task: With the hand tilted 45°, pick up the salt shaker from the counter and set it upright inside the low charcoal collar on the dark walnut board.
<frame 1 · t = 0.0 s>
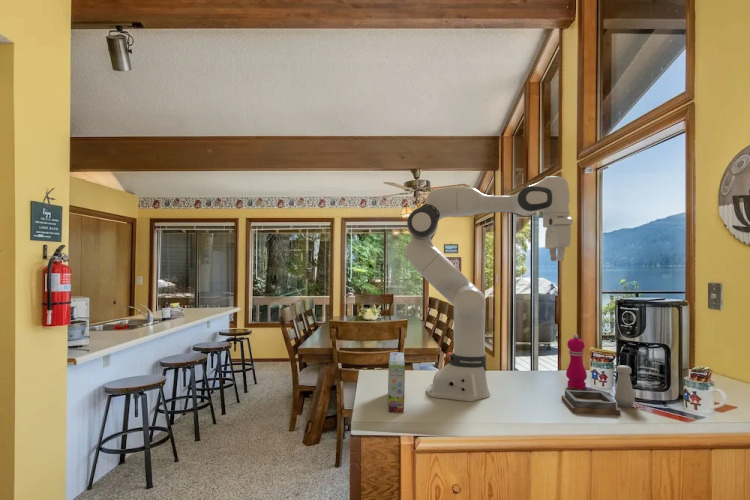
hand: (556, 260, 151), 48 cm above the countertop, tool pointing down, fingers open, 8 cm apart
salt shaker: (624, 406, 141), on the countertop
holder: (589, 407, 139), on the countertop
pepper mill: (576, 387, 163), on the countertop
snack box: (396, 403, 144), on the countertop
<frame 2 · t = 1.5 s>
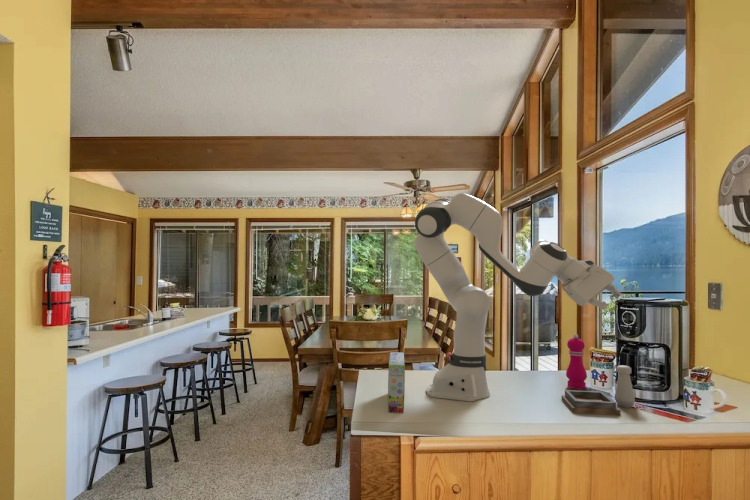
hand: (613, 301, 135), 35 cm above the countertop, tool tilted 55°, fingers open, 8 cm apart
nothing on the countertop moved.
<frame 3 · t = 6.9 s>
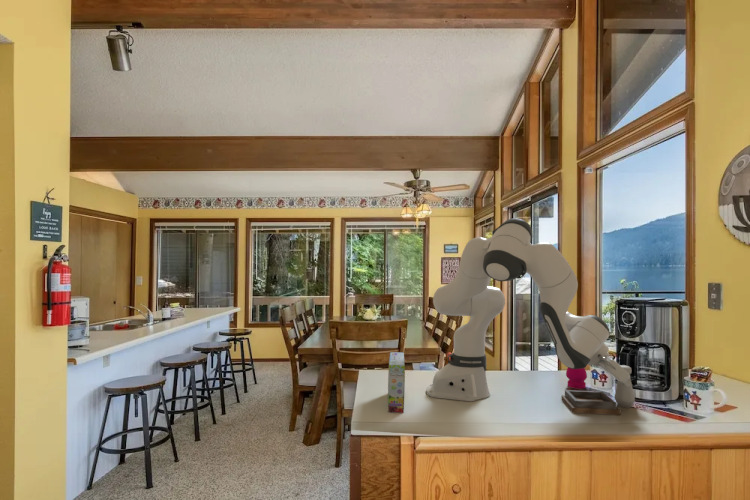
hand: (626, 383, 141), 7 cm above the countertop, tool tilted 45°, fingers closed on salt shaker, 3 cm apart
salt shaker: (624, 406, 141), on the countertop, touching gripper
everything else where it was.
when the fingers open (10 cm above the countertop, at t = 12.1 s): salt shaker stays where it is, resting on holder.
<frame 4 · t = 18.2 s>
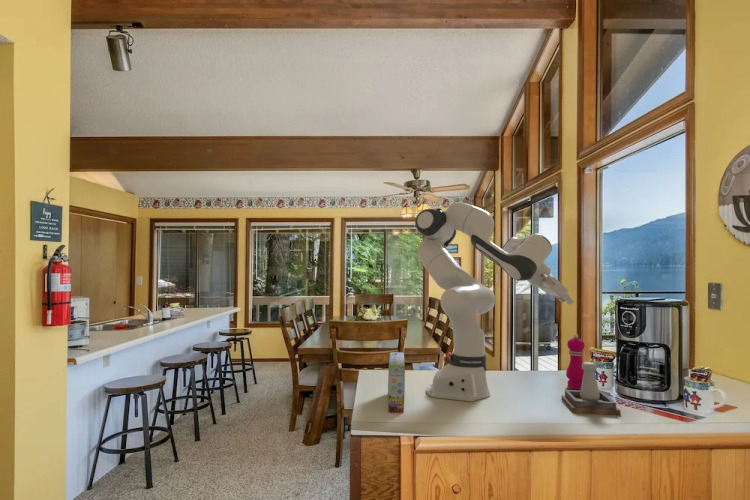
hand: (567, 302, 151), 33 cm above the countertop, tool tilted 45°, fingers open, 8 cm apart
salt shaker: (589, 403, 139), point 1 cm above the countertop, touching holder
everything else where it was.
at the end: salt shaker 0.4 cm off-centre on the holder, point 1.3 cm above the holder's base; salt shaker tilted 0°; the gripper is holding nothing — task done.
